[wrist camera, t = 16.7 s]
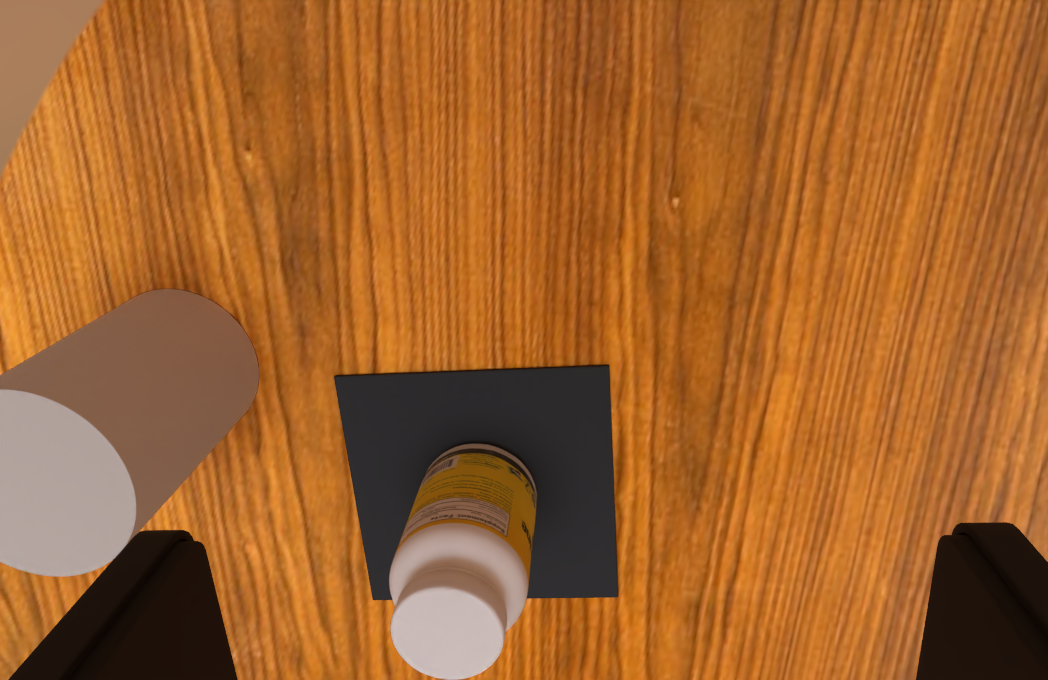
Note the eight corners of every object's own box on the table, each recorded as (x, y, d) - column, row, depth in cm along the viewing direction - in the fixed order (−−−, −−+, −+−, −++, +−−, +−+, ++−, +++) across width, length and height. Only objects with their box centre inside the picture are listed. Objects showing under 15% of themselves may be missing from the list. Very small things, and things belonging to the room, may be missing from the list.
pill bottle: (519, 552, 43) (497, 713, 33) (411, 519, 43) (355, 671, 33) (553, 459, 41) (542, 600, 31) (440, 423, 41) (390, 554, 31)
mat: (373, 597, 45) (372, 600, 45) (335, 375, 41) (334, 376, 40) (618, 595, 44) (618, 597, 44) (608, 364, 39) (608, 366, 39)
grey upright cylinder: (73, 338, 41) (-120, 452, 30) (189, 259, 39) (28, 350, 28) (175, 457, 43) (32, 606, 32) (290, 389, 41) (179, 522, 30)
